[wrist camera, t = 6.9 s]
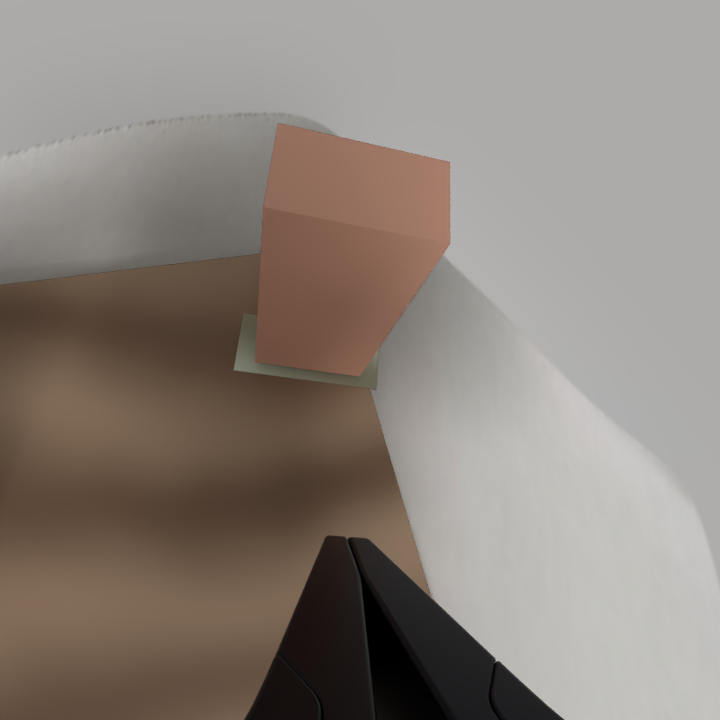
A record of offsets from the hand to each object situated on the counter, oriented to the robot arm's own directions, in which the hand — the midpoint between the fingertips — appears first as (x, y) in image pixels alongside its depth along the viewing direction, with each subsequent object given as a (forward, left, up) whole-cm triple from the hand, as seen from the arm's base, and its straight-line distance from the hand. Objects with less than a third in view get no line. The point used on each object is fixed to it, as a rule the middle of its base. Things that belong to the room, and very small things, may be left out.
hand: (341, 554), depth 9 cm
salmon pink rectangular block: (+8, -3, -9) cm, 12 cm away
